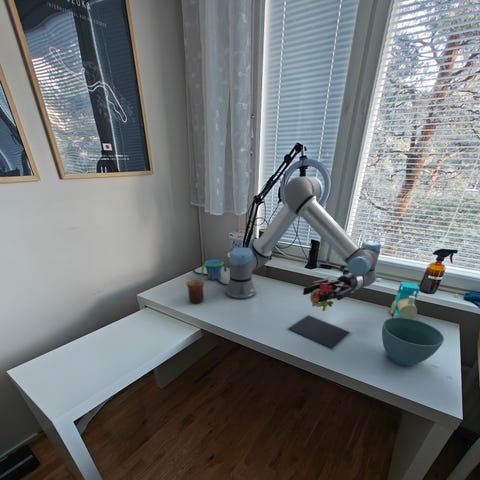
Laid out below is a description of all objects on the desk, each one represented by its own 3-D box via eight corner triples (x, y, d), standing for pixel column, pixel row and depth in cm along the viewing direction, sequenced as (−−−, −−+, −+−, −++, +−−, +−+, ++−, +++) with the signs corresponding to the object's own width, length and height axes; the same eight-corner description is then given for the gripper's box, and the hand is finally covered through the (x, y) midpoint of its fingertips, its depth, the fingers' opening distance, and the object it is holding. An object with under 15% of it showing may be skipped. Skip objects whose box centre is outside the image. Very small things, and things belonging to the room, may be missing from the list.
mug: (203, 305, 132) (202, 286, 127) (186, 304, 132) (184, 285, 127) (207, 295, 142) (206, 276, 137) (190, 294, 142) (189, 276, 137)
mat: (288, 329, 114) (288, 328, 114) (308, 316, 124) (308, 315, 124) (331, 349, 102) (331, 348, 102) (349, 332, 112) (349, 332, 112)
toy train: (393, 326, 117) (405, 295, 109) (389, 310, 130) (399, 281, 123) (414, 330, 114) (427, 298, 107) (407, 312, 128) (418, 283, 120)
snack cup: (204, 283, 156) (203, 266, 151) (199, 277, 165) (198, 261, 159) (229, 279, 161) (229, 263, 156) (223, 273, 170) (223, 258, 164)
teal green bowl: (369, 362, 95) (379, 333, 89) (378, 338, 108) (387, 312, 102) (428, 382, 87) (444, 352, 81) (430, 354, 100) (444, 326, 94)
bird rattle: (309, 313, 107) (330, 312, 101) (303, 287, 104) (324, 284, 98) (316, 308, 111) (337, 306, 105) (310, 282, 109) (331, 279, 102)
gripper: (368, 299, 108) (330, 314, 97) (328, 283, 122) (292, 294, 111) (373, 282, 104) (334, 295, 93) (331, 267, 118) (294, 277, 107)
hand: (311, 295), depth 102 cm, fingers closed on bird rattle, 7 cm apart
